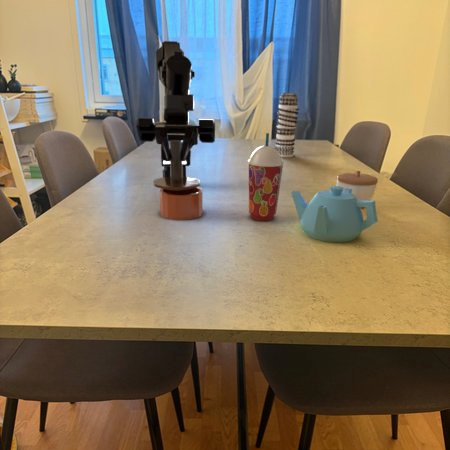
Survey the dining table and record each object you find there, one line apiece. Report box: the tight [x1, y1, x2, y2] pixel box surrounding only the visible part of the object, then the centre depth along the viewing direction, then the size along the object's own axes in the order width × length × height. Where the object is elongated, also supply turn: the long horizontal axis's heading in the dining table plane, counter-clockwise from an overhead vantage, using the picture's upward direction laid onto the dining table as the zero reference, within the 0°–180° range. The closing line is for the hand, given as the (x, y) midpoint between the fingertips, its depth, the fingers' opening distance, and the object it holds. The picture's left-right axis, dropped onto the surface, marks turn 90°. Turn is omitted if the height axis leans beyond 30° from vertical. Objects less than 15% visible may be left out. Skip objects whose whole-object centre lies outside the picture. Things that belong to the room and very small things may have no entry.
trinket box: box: [336, 170, 379, 209], centre depth 119 cm, size 11×11×9 cm
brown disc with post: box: [152, 140, 201, 190], centre depth 104 cm, size 12×12×11 cm
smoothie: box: [247, 132, 284, 222], centre depth 104 cm, size 8×8×20 cm
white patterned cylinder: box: [274, 92, 300, 158], centre depth 186 cm, size 9×9×25 cm
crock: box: [158, 186, 203, 221], centre depth 109 cm, size 11×11×6 cm
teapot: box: [290, 185, 379, 243], centre depth 96 cm, size 15×15×11 cm
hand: (175, 160), depth 103 cm, fingers closed on brown disc with post, 3 cm apart
